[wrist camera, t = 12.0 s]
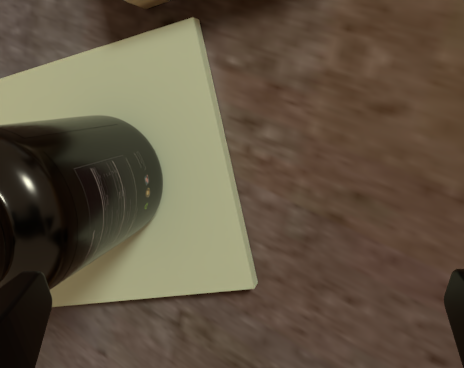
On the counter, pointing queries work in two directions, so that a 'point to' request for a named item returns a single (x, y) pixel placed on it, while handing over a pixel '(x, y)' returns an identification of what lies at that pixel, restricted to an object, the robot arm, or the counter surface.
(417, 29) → the counter surface
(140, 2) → the birch collar
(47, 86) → the sage board
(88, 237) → the supplement bottle
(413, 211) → the counter surface
